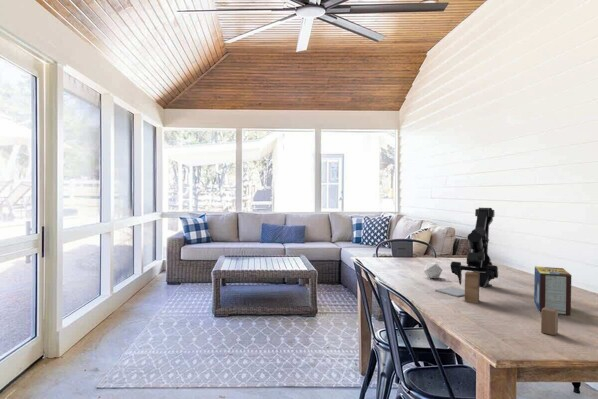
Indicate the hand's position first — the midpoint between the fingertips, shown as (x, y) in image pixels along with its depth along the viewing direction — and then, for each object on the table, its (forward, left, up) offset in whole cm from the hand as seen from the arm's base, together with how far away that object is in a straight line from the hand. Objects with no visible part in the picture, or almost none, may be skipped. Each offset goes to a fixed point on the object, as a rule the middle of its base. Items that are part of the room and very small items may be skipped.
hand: (471, 285), depth 166 cm
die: (-23, -40, -7) cm, 46 cm away
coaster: (-7, -14, -7) cm, 17 cm away
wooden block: (+11, +36, -7) cm, 39 cm away
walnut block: (-1, -1, -7) cm, 7 cm away
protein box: (-19, +22, -7) cm, 30 cm away
